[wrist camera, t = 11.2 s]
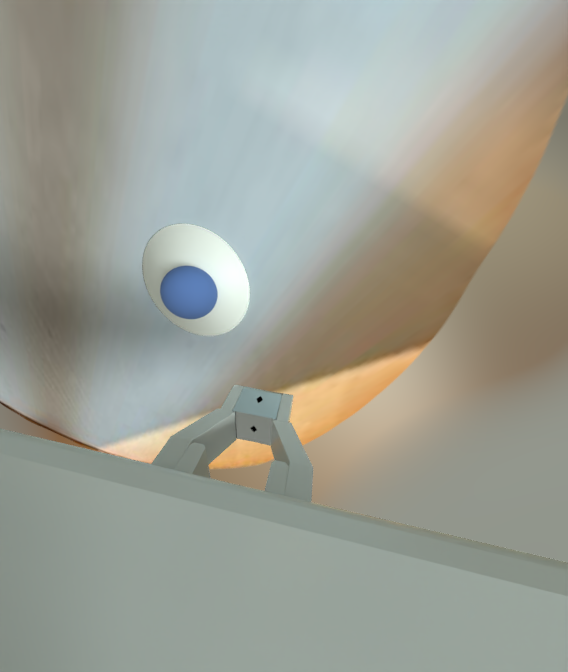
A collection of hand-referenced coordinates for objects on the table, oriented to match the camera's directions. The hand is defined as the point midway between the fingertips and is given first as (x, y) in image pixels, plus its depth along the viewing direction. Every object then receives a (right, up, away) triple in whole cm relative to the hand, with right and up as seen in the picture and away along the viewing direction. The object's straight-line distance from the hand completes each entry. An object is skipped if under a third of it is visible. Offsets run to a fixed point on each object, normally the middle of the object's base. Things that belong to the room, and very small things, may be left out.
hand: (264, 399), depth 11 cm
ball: (-9, +8, +12) cm, 17 cm away
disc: (-9, +9, +14) cm, 19 cm away
